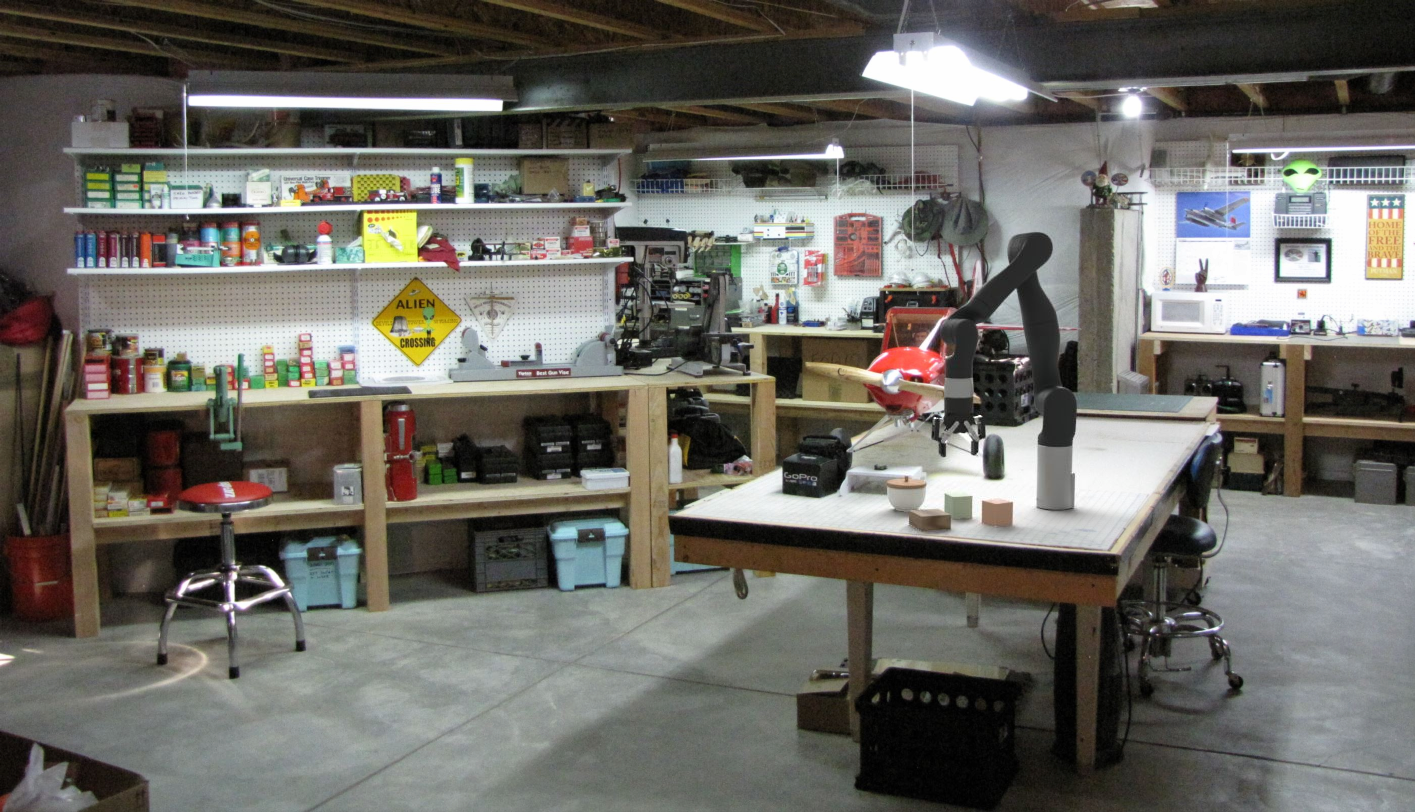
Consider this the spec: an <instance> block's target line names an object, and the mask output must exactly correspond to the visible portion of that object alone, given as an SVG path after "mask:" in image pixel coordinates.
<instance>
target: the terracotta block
mask: <svg viewBox="0 0 1415 812" xmlns="http://www.w3.org/2000/svg"><path fill="white" fill-rule="evenodd" d="M1013 514H1014V502H1013V501H1010V500H1006V499H1002V498H991V499H983V500H981V524H983V523H984V525H987V524H988V525H987V526H990V525H991V527H994V526H1000V527H1005V526H1004V525H1007V526H1013V525H1012V524H1014V522H1013V521H1014V520H1013V518H1014V515H1013Z"/></svg>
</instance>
